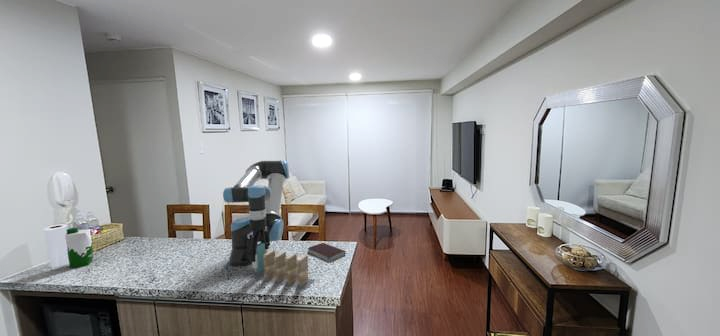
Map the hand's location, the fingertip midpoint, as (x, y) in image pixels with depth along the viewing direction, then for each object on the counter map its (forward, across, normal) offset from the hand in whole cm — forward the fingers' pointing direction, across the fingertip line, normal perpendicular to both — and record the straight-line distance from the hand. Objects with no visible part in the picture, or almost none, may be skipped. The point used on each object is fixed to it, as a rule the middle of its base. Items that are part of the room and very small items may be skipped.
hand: (259, 264), depth 135 cm
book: (+6, +34, -18) cm, 39 cm away
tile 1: (+5, 0, -24) cm, 24 cm away
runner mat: (+6, 0, -12) cm, 14 cm away
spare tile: (+2, 0, 0) cm, 2 cm away
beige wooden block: (+5, 0, -12) cm, 13 cm away
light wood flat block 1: (+5, 0, -6) cm, 8 cm away
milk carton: (+6, -22, +100) cm, 103 cm away
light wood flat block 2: (+5, 0, -18) cm, 19 cm away
